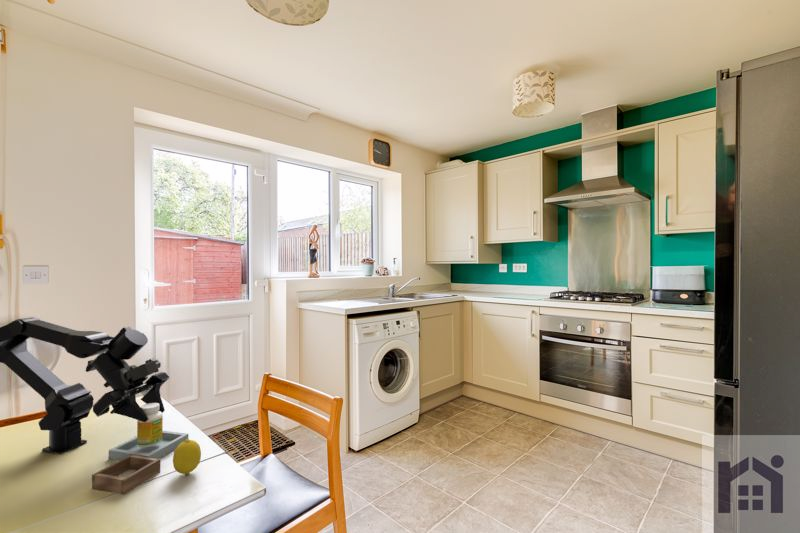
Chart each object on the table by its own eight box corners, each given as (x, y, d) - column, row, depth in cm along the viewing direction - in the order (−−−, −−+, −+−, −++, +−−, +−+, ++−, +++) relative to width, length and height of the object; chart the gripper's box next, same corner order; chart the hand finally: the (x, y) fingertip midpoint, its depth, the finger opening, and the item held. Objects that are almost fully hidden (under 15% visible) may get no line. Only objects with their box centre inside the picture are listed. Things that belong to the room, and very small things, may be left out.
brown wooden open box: (91, 488, 77) (91, 474, 77) (130, 467, 85) (130, 454, 85) (124, 494, 75) (124, 480, 75) (160, 472, 83) (160, 459, 83)
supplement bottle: (154, 448, 91) (154, 409, 91) (131, 448, 91) (132, 409, 91) (166, 437, 96) (167, 401, 96) (145, 438, 96) (146, 401, 96)
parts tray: (108, 459, 89) (108, 450, 89) (152, 436, 101) (152, 429, 101) (148, 465, 86) (148, 456, 86) (188, 441, 98) (188, 433, 98)
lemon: (188, 483, 79) (188, 446, 79) (166, 480, 80) (167, 444, 80) (206, 469, 85) (206, 435, 85) (186, 466, 86) (186, 432, 86)
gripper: (104, 359, 85) (147, 409, 84) (163, 343, 103) (199, 383, 102) (73, 391, 85) (115, 441, 84) (137, 369, 104) (172, 410, 103)
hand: (155, 416), depth 93 cm, fingers closed on supplement bottle, 5 cm apart
